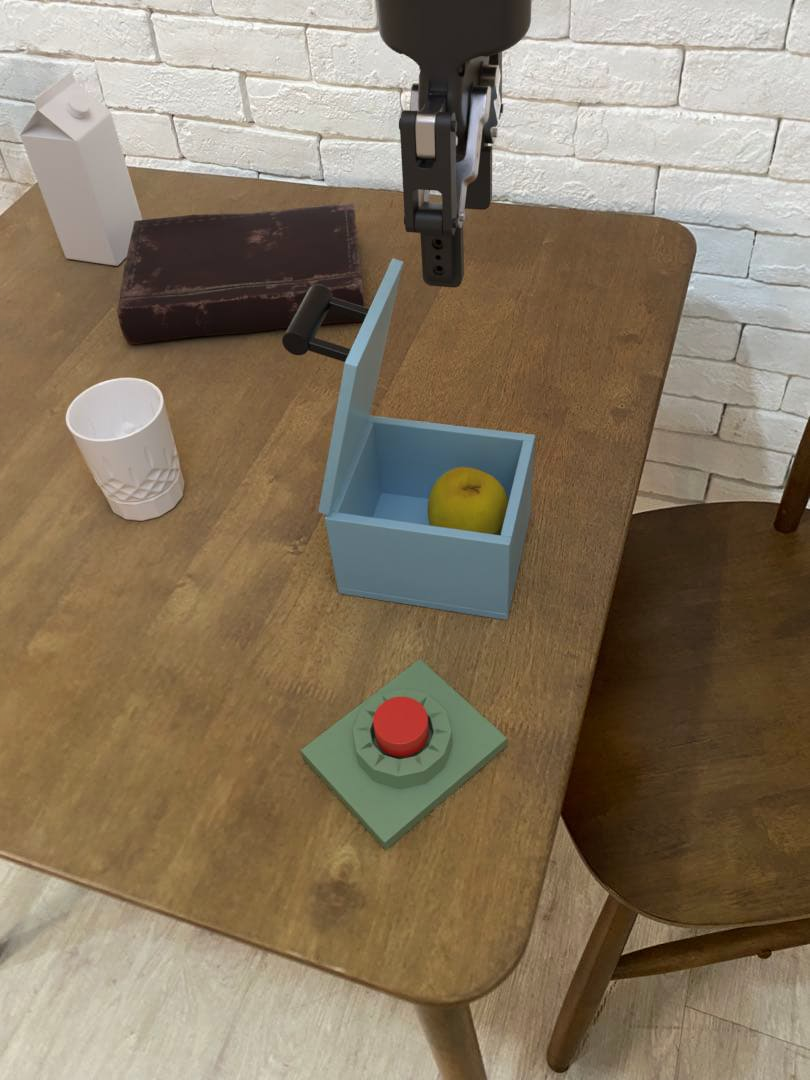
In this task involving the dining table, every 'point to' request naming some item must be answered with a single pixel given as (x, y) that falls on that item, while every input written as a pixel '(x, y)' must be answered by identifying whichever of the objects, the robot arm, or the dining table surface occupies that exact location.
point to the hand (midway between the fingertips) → (459, 242)
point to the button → (401, 726)
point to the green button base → (403, 782)
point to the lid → (346, 366)
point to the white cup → (128, 446)
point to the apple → (468, 501)
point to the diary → (236, 271)
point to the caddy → (402, 518)
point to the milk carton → (81, 173)
